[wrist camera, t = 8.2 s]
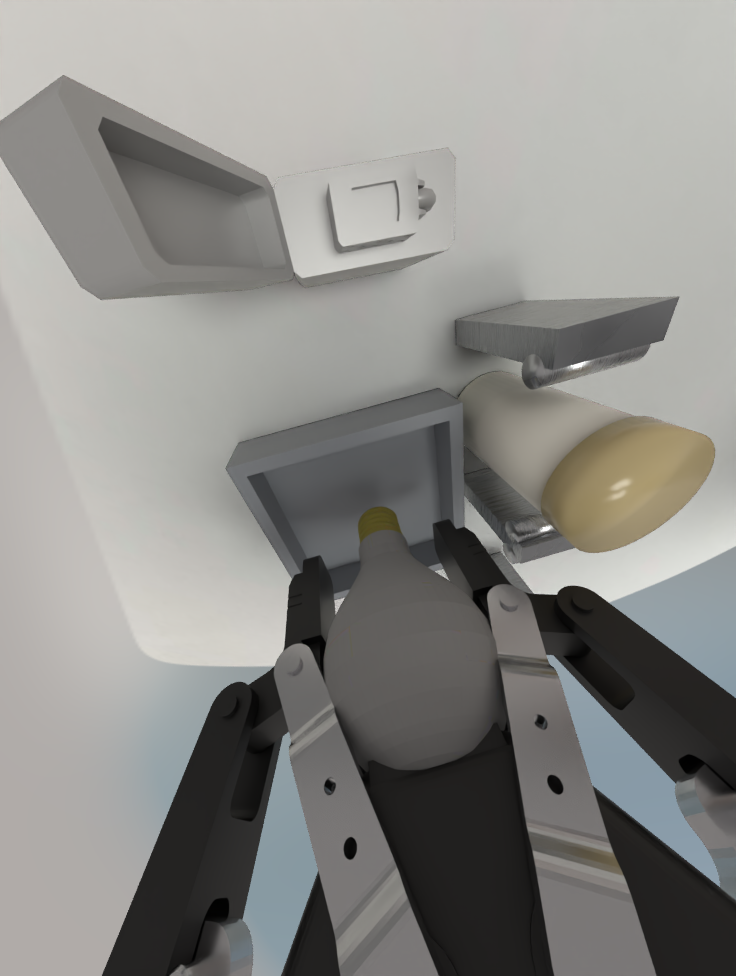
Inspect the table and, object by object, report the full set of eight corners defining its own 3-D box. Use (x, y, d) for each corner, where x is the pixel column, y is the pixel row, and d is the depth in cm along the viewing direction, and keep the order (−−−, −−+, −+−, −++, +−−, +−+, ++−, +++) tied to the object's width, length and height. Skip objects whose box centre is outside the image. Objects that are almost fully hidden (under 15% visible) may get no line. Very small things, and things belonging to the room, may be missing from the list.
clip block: (526, 300, 12) (679, 296, 7) (500, 560, 22) (555, 634, 17) (455, 319, 12) (559, 328, 7) (461, 571, 22) (506, 649, 17)
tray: (439, 387, 13) (462, 403, 11) (448, 534, 19) (465, 562, 17) (238, 443, 13) (225, 468, 11) (309, 574, 19) (309, 607, 17)
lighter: (402, 205, 10) (603, -19, 3) (406, 268, 11) (564, 202, 4) (198, 243, 9) (-83, 84, 3) (222, 304, 10) (60, 299, 4)
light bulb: (308, 540, 15) (291, 832, 7) (348, 456, 12) (396, 758, 4) (395, 560, 17) (465, 808, 9) (444, 490, 14) (610, 746, 6)
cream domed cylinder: (528, 357, 13) (746, 410, 7) (521, 434, 16) (677, 528, 9) (445, 384, 13) (585, 464, 7) (452, 457, 16) (559, 568, 9)
